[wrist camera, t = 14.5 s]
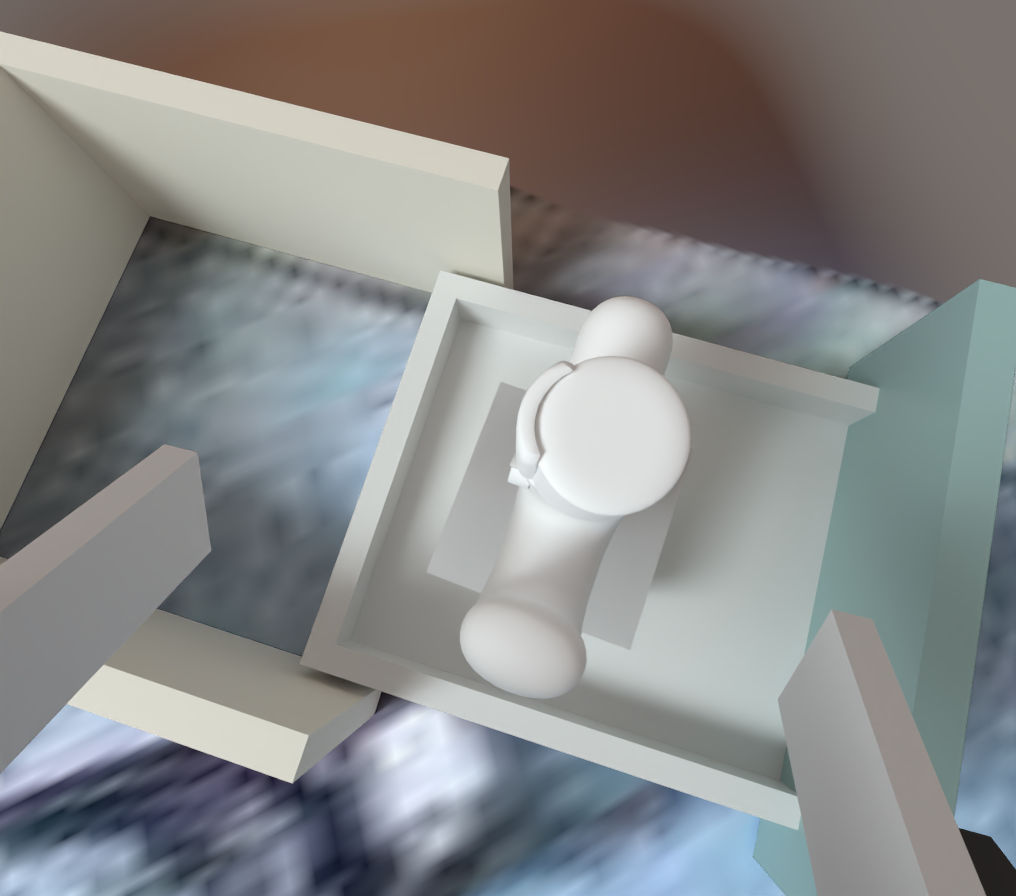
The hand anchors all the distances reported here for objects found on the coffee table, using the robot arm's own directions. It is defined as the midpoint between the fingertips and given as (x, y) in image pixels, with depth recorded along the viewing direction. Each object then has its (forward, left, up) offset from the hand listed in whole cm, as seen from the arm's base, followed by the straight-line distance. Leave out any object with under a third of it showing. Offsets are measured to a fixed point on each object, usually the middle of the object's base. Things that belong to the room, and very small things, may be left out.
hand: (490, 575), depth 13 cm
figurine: (+1, -3, -12) cm, 12 cm away
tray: (-1, -4, -13) cm, 14 cm away
